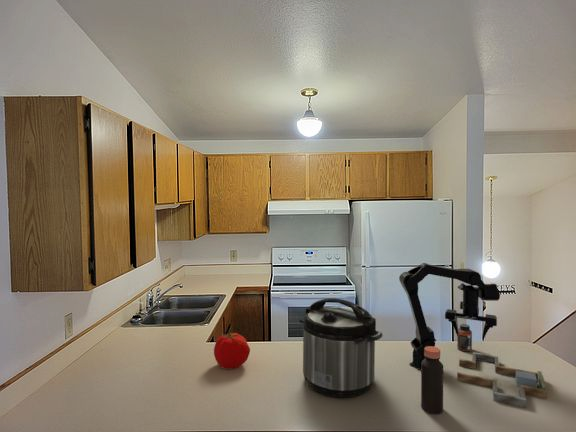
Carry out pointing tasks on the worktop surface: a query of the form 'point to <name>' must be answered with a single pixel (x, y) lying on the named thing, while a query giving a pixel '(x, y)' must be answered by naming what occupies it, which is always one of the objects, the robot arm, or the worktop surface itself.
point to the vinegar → (432, 381)
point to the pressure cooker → (339, 348)
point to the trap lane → (493, 383)
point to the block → (526, 379)
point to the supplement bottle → (464, 338)
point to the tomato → (231, 351)
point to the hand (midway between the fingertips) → (470, 337)
